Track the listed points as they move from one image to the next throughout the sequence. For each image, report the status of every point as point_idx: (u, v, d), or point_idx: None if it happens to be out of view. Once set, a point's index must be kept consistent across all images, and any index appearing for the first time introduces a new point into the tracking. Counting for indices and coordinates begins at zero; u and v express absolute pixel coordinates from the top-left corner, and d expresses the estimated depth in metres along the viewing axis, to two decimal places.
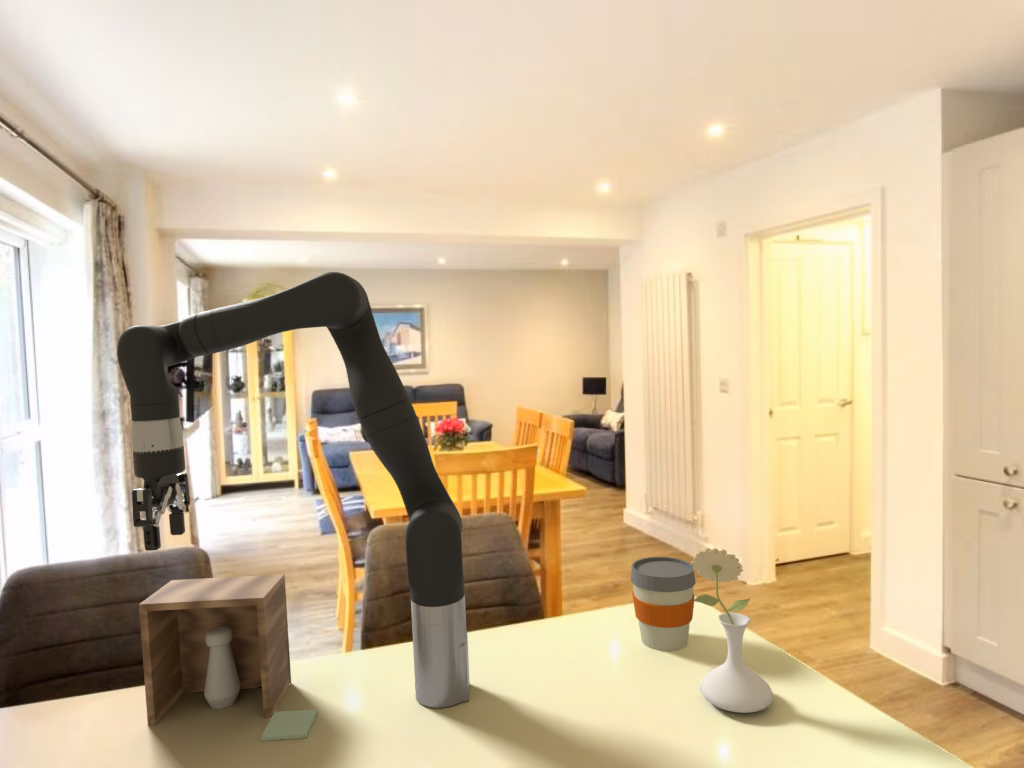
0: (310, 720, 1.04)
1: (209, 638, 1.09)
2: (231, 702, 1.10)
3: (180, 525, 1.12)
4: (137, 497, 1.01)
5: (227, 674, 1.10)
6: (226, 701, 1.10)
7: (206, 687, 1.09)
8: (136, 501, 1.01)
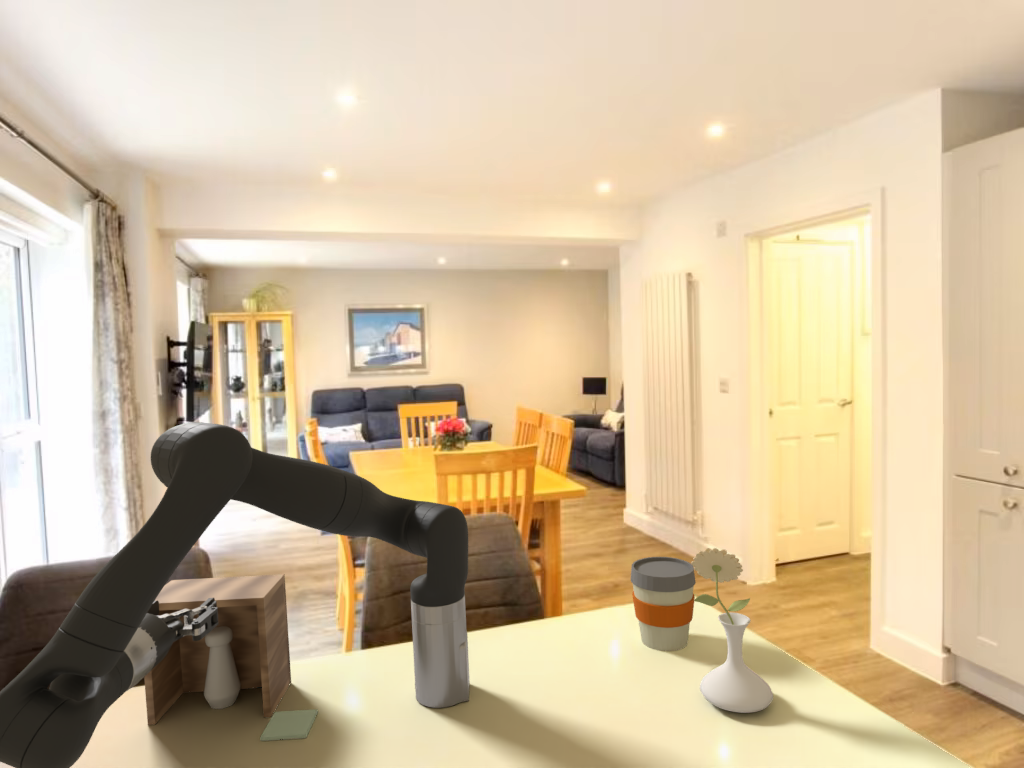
0: (310, 720, 1.04)
1: (209, 638, 1.09)
2: (231, 702, 1.10)
3: (153, 606, 0.98)
4: (203, 630, 0.91)
5: (227, 674, 1.10)
6: (226, 701, 1.10)
7: (206, 687, 1.09)
8: (205, 630, 0.91)
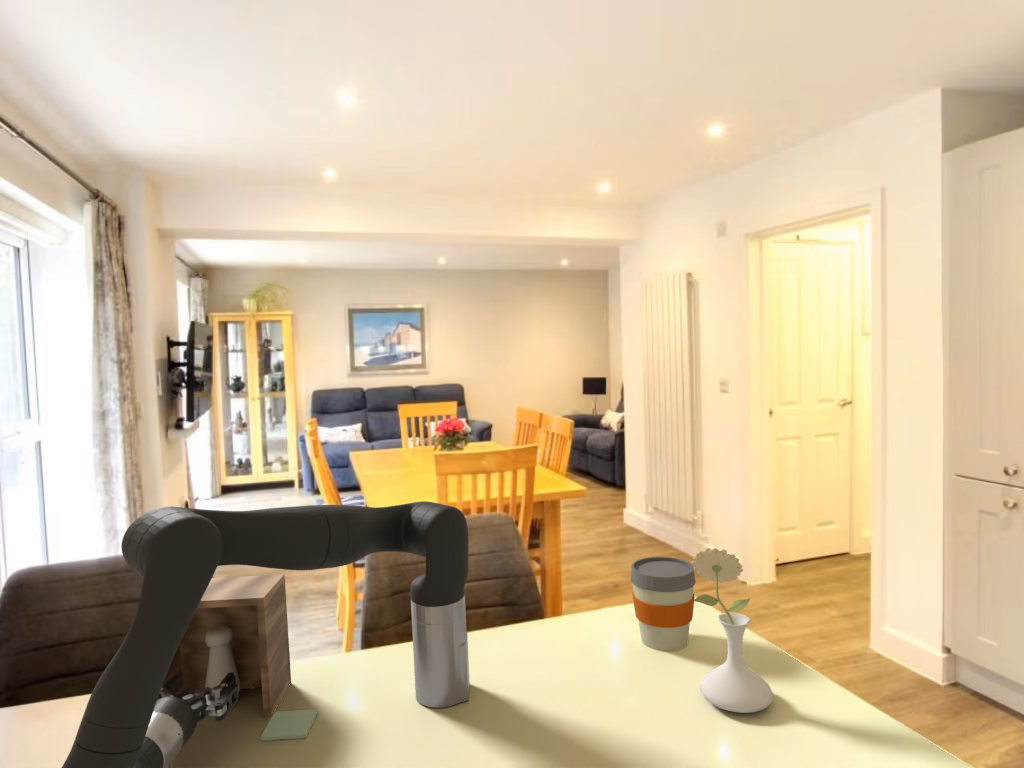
0: (310, 720, 1.04)
1: (209, 638, 1.09)
2: None
3: (175, 681, 1.03)
4: (225, 709, 0.96)
5: None
6: None
7: None
8: (227, 709, 0.97)
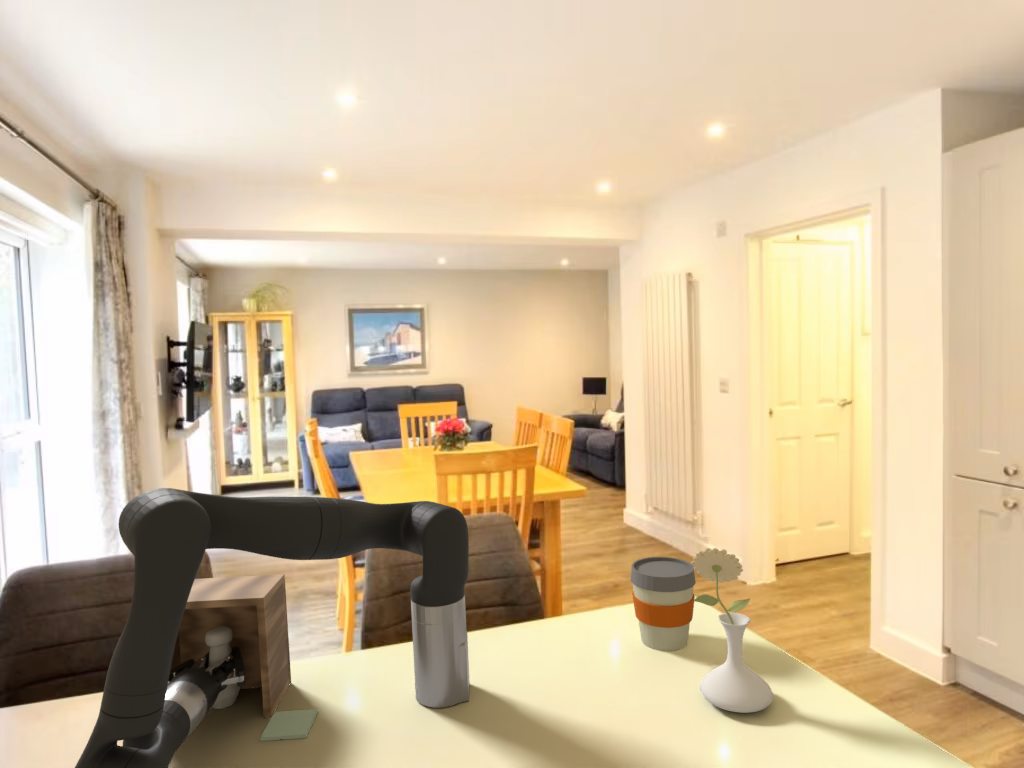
0: (310, 720, 1.04)
1: (209, 638, 1.09)
2: (231, 702, 1.10)
3: None
4: None
5: None
6: (226, 701, 1.10)
7: None
8: None
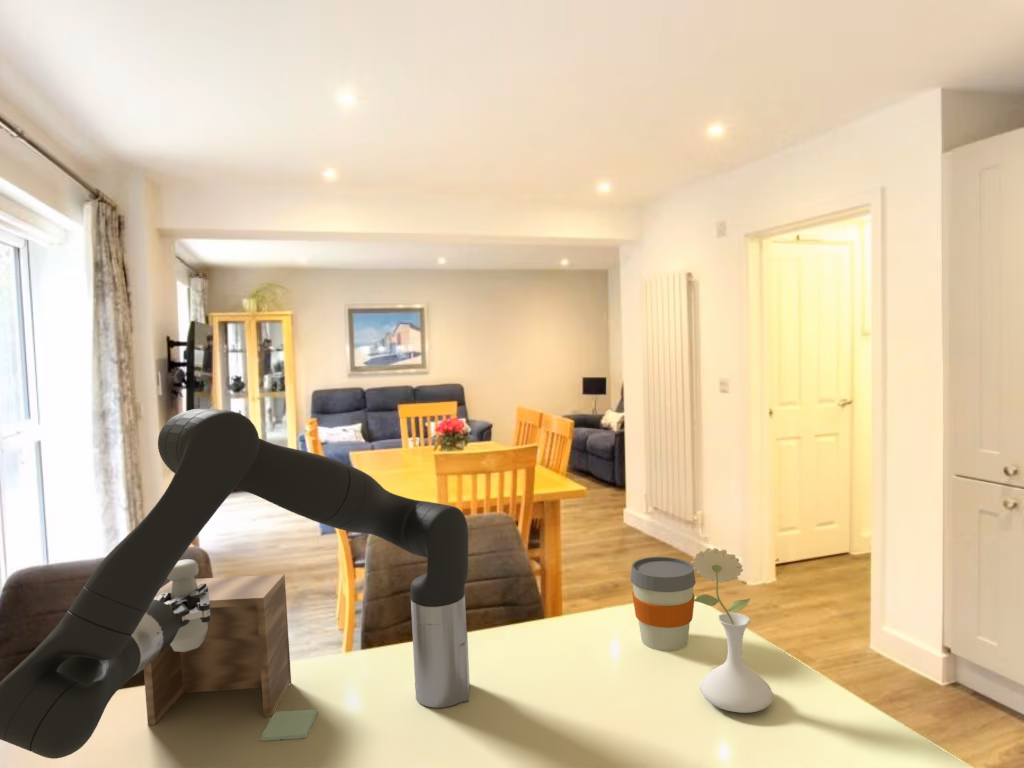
0: (310, 720, 1.04)
1: None
2: (196, 644, 0.97)
3: None
4: None
5: None
6: (190, 643, 0.96)
7: None
8: None
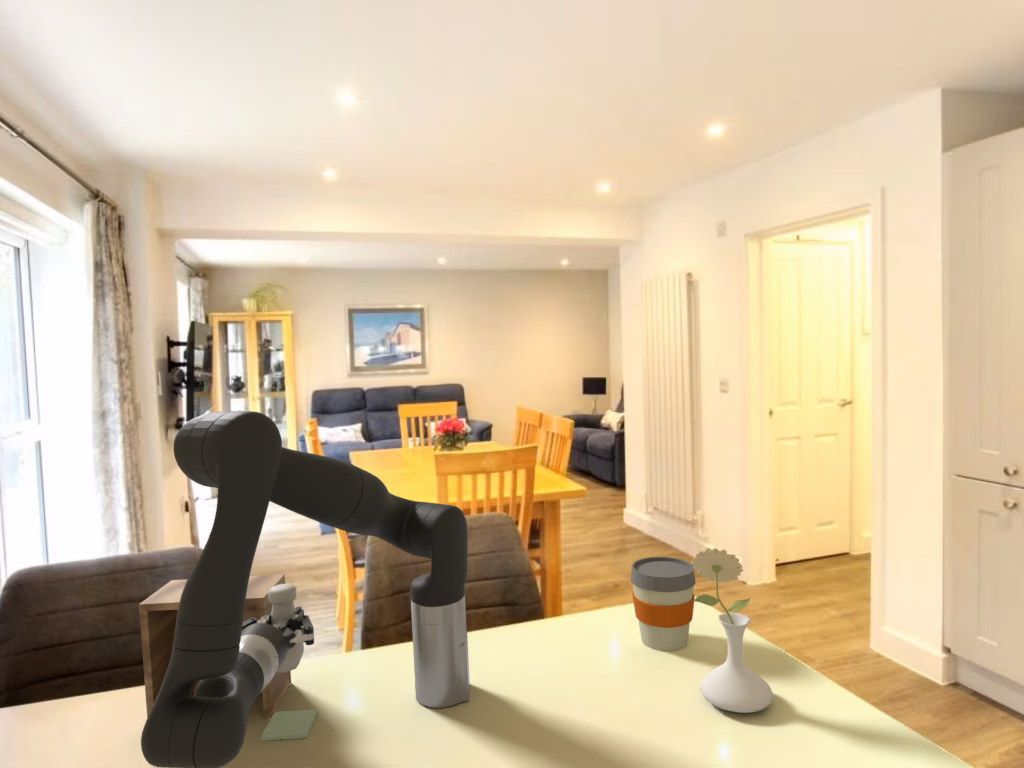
0: (310, 720, 1.04)
1: (273, 594, 1.00)
2: (295, 665, 1.02)
3: None
4: None
5: None
6: (290, 664, 1.01)
7: None
8: None
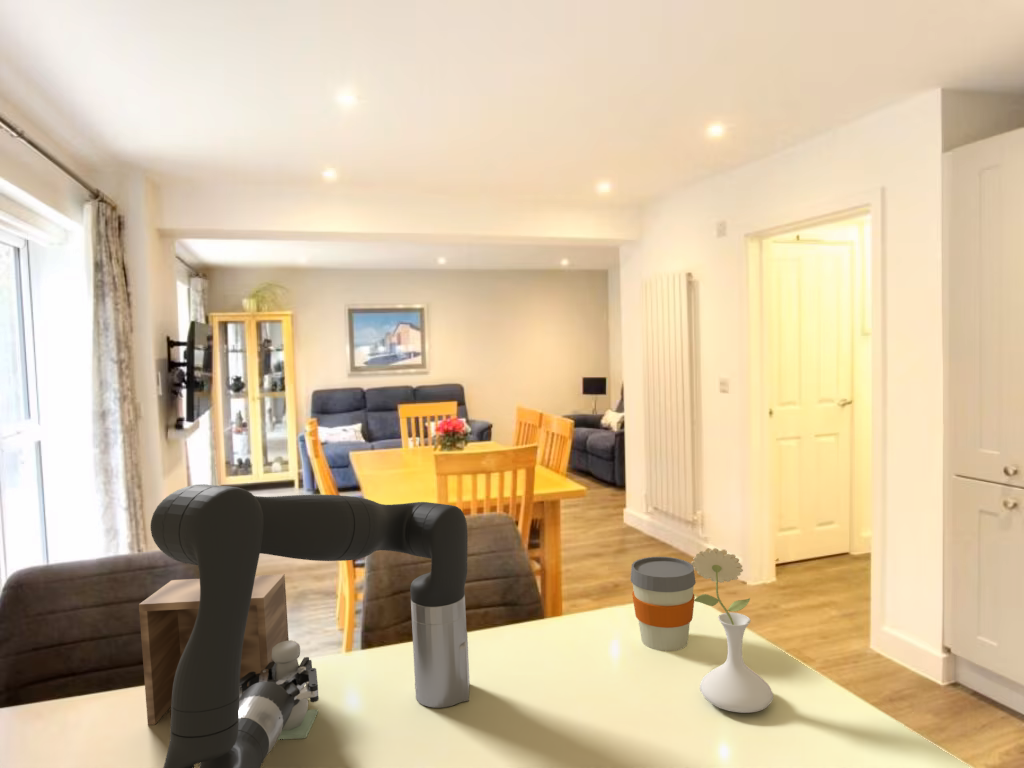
0: (310, 720, 1.04)
1: (277, 654, 1.01)
2: (299, 722, 1.02)
3: (275, 664, 1.04)
4: None
5: None
6: (295, 722, 1.02)
7: None
8: None
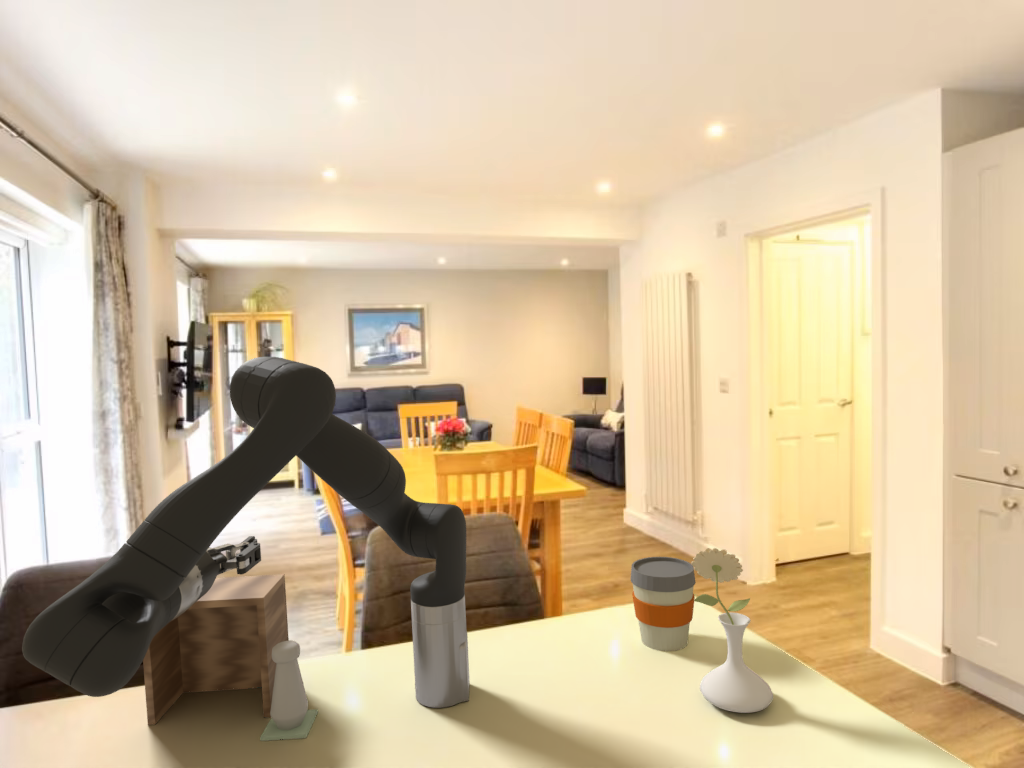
0: (310, 720, 1.04)
1: (276, 653, 1.01)
2: (299, 722, 1.02)
3: None
4: (248, 564, 0.87)
5: (296, 692, 1.02)
6: (295, 722, 1.02)
7: (273, 707, 1.01)
8: (249, 564, 0.87)
